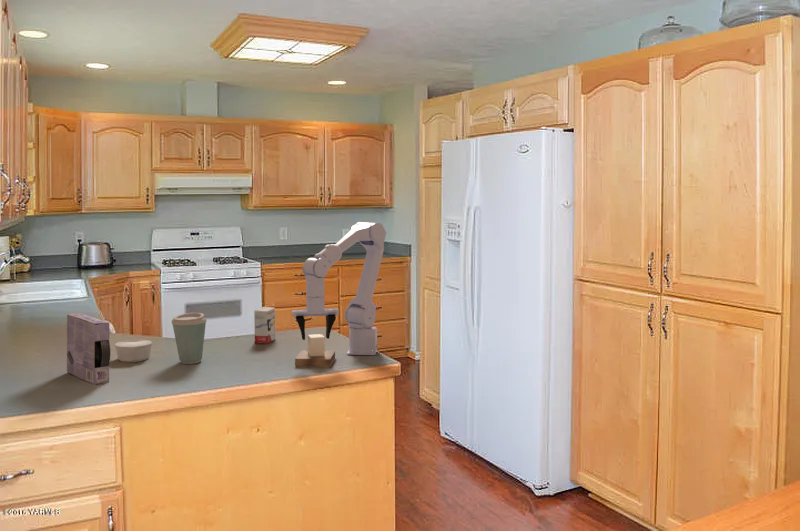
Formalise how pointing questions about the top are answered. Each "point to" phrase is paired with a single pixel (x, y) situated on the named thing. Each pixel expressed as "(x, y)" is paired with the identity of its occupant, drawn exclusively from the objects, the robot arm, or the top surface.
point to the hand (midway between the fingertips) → (315, 338)
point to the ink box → (264, 325)
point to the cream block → (316, 345)
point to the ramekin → (133, 350)
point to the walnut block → (314, 359)
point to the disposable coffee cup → (189, 336)
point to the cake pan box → (88, 348)
